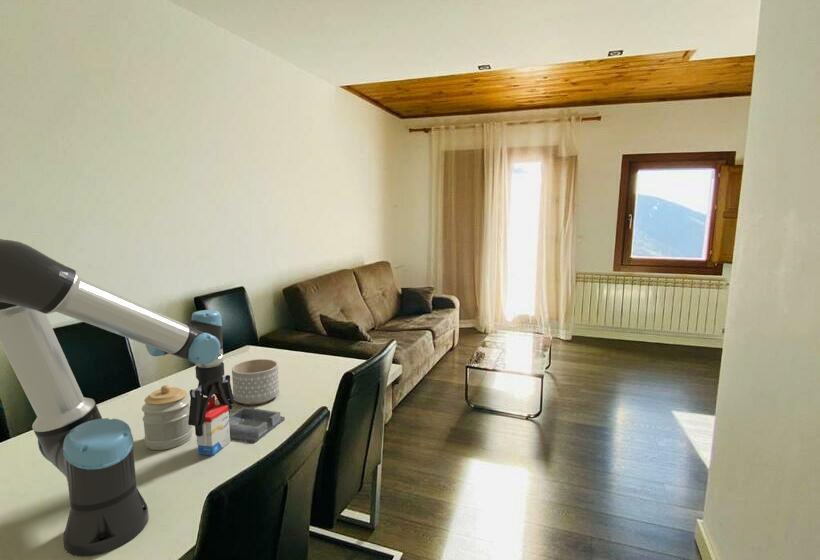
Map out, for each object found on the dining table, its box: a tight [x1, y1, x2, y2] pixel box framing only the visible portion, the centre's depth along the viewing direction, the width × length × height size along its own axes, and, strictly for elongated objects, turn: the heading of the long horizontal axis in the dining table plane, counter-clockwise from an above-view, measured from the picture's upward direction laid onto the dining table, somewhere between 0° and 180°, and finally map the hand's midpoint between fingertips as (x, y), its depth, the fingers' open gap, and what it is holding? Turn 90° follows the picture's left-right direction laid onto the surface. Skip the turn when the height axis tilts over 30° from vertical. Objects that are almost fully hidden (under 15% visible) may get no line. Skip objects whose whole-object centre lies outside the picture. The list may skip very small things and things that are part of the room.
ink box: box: [197, 395, 231, 456], centre depth 126 cm, size 8×5×15 cm, turn 168°
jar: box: [141, 384, 194, 451], centre depth 131 cm, size 13×13×18 cm
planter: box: [231, 358, 280, 406], centre depth 163 cm, size 16×16×13 cm
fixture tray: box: [229, 406, 286, 444], centre depth 140 cm, size 16×15×4 cm
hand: (214, 437), depth 127 cm, fingers closed on ink box, 9 cm apart
